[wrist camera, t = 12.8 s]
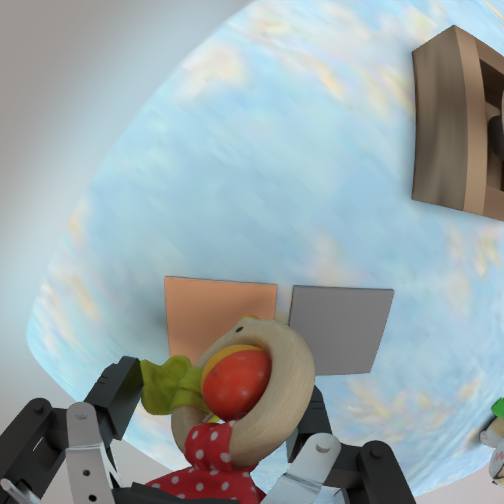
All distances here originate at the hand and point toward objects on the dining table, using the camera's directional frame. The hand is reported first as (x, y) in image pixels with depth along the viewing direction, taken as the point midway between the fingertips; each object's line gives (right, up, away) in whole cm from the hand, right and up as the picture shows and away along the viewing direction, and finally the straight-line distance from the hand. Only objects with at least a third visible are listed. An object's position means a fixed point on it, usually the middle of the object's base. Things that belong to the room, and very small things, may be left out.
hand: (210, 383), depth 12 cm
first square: (+7, +1, +5) cm, 9 cm away
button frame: (+17, +14, +1) cm, 22 cm away
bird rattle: (0, +1, +3) cm, 3 cm away
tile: (0, +1, +5) cm, 5 cm away
